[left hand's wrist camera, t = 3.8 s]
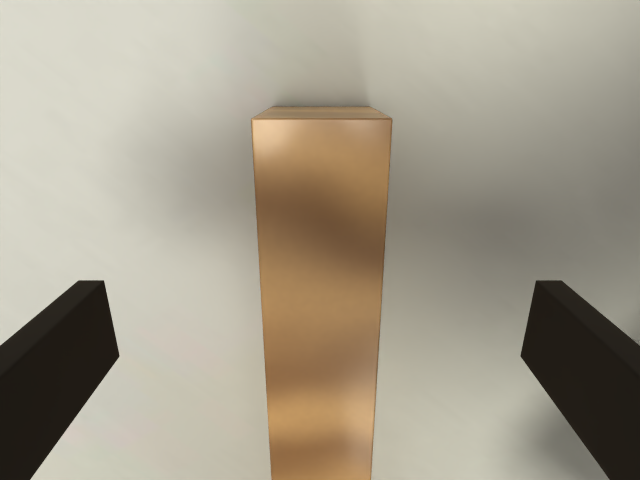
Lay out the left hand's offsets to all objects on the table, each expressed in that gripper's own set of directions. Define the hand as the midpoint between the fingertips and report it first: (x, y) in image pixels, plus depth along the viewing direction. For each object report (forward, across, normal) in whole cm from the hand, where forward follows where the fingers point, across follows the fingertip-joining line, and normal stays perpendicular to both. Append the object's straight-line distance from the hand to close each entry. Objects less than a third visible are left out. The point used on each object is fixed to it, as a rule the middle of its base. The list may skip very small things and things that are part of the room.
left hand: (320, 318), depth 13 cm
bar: (+13, 0, -18) cm, 22 cm away
